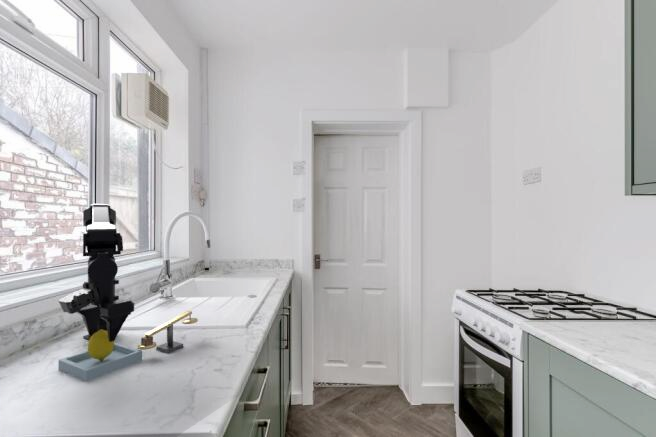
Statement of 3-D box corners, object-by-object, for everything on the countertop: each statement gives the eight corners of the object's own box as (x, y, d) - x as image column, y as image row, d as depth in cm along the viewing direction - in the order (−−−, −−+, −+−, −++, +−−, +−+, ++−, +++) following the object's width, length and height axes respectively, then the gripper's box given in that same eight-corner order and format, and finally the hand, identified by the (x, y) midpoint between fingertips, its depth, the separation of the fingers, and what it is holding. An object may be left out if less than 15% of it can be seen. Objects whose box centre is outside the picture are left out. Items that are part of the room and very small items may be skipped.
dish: (58, 369, 80) (58, 359, 80) (114, 351, 91) (114, 342, 91) (86, 381, 74) (86, 370, 74) (142, 360, 85) (142, 350, 85)
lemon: (82, 364, 80) (81, 332, 80) (102, 355, 86) (101, 325, 86) (100, 366, 79) (100, 334, 79) (119, 356, 85) (119, 326, 85)
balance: (133, 358, 86) (133, 324, 86) (190, 337, 102) (190, 308, 102) (144, 362, 84) (144, 327, 84) (201, 339, 100) (201, 310, 100)
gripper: (45, 279, 80) (45, 342, 80) (85, 285, 71) (85, 357, 71) (95, 272, 90) (95, 329, 90) (135, 277, 81) (135, 340, 81)
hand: (101, 338), depth 82 cm, fingers open, 9 cm apart
